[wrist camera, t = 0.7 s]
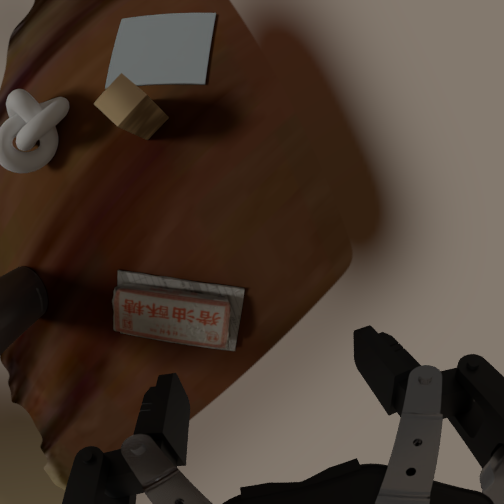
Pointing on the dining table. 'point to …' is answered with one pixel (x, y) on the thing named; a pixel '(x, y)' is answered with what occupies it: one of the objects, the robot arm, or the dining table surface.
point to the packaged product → (177, 310)
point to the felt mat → (163, 49)
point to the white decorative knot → (30, 131)
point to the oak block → (131, 108)
